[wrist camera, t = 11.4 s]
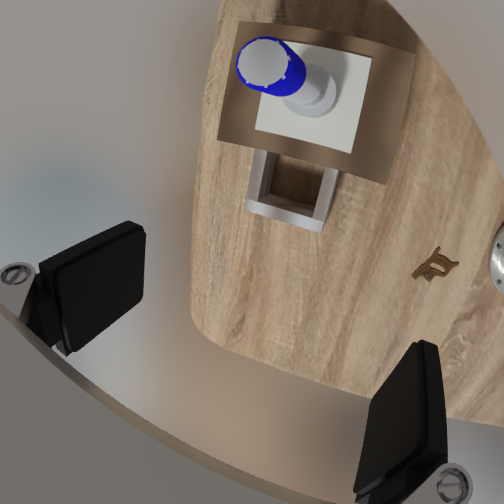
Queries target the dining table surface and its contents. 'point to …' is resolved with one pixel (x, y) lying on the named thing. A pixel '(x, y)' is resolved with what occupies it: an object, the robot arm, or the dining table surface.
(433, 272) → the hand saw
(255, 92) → the wooden box
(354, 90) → the lid mat
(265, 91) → the bolt
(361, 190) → the dining table surface
